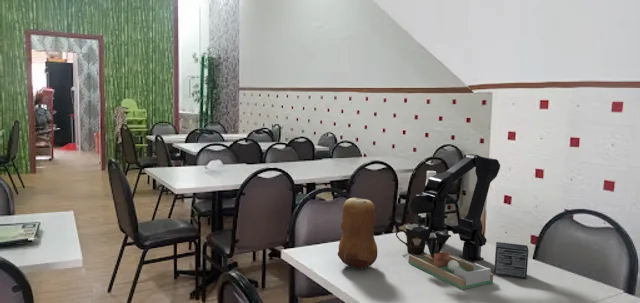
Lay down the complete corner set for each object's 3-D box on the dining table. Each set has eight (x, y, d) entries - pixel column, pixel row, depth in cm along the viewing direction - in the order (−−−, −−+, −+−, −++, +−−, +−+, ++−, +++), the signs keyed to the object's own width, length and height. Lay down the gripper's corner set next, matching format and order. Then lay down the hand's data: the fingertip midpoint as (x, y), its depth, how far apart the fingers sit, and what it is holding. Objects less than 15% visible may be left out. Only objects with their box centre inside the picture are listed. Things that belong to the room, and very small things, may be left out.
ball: (453, 268, 171) (453, 257, 171) (461, 272, 168) (462, 261, 167) (444, 270, 169) (445, 259, 169) (452, 274, 166) (453, 263, 166)
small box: (525, 273, 172) (527, 244, 171) (526, 279, 166) (529, 250, 165) (494, 269, 175) (496, 240, 174) (494, 275, 169) (496, 246, 168)
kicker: (434, 258, 181) (435, 240, 180) (449, 264, 174) (450, 245, 174) (422, 260, 178) (423, 242, 177) (436, 267, 172) (437, 248, 171)
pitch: (437, 257, 186) (437, 245, 185) (492, 282, 162) (493, 268, 162) (408, 262, 179) (408, 249, 178) (462, 289, 156) (463, 274, 155)
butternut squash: (369, 259, 181) (371, 194, 178) (382, 272, 168) (385, 202, 165) (333, 261, 178) (335, 194, 175) (343, 275, 165) (346, 203, 162)
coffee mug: (429, 251, 193) (431, 227, 192) (422, 257, 186) (423, 231, 185) (402, 246, 199) (403, 222, 198) (394, 251, 192) (395, 226, 191)
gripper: (440, 204, 186) (438, 244, 188) (402, 208, 177) (400, 250, 179) (462, 211, 177) (459, 252, 178) (422, 216, 168) (420, 259, 169)
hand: (434, 253), depth 177 cm, fingers closed on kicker, 3 cm apart
